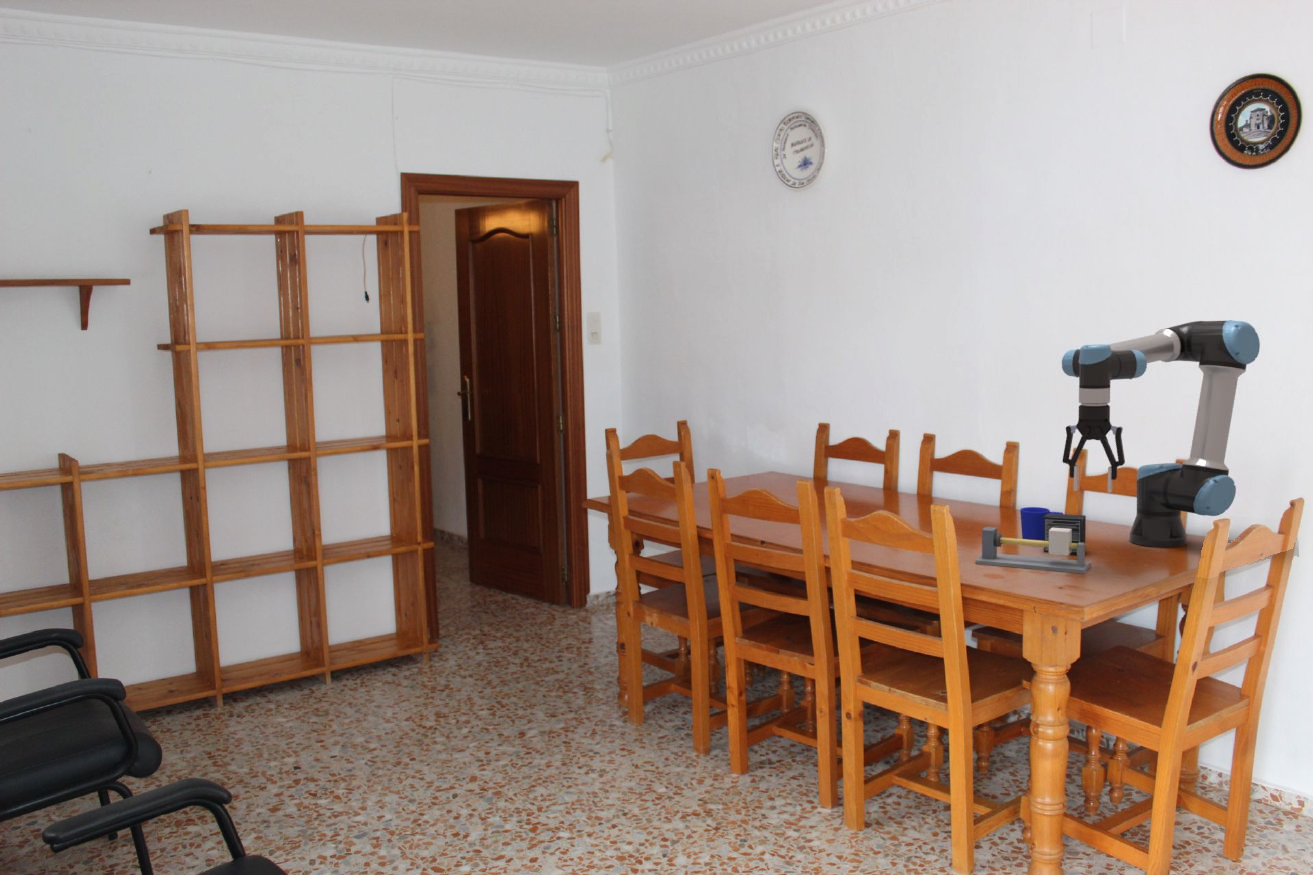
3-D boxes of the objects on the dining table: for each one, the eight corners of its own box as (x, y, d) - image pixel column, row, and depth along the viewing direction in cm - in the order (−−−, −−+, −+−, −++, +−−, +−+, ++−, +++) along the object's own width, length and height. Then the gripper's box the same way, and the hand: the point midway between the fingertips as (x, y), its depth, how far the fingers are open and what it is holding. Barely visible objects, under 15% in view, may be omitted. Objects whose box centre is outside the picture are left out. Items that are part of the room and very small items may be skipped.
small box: (1086, 550, 299) (1086, 514, 298) (1082, 555, 294) (1083, 518, 293) (1047, 547, 305) (1047, 512, 304) (1042, 552, 299) (1043, 516, 298)
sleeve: (1071, 552, 282) (1071, 528, 282) (1068, 555, 279) (1068, 531, 278) (1051, 550, 285) (1052, 527, 284) (1048, 553, 281) (1048, 530, 280)
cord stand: (1090, 565, 283) (1091, 532, 282) (1084, 573, 274) (1085, 539, 273) (984, 556, 297) (984, 524, 296) (975, 563, 289) (975, 531, 288)
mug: (1065, 546, 306) (1066, 512, 305) (1022, 545, 308) (1022, 512, 307) (1060, 540, 314) (1061, 507, 313) (1018, 539, 316) (1018, 506, 315)
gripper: (1139, 403, 271) (1137, 490, 274) (1055, 402, 281) (1054, 486, 284) (1135, 406, 265) (1133, 495, 267) (1050, 404, 275) (1049, 491, 278)
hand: (1092, 490), depth 276 cm, fingers open, 8 cm apart
